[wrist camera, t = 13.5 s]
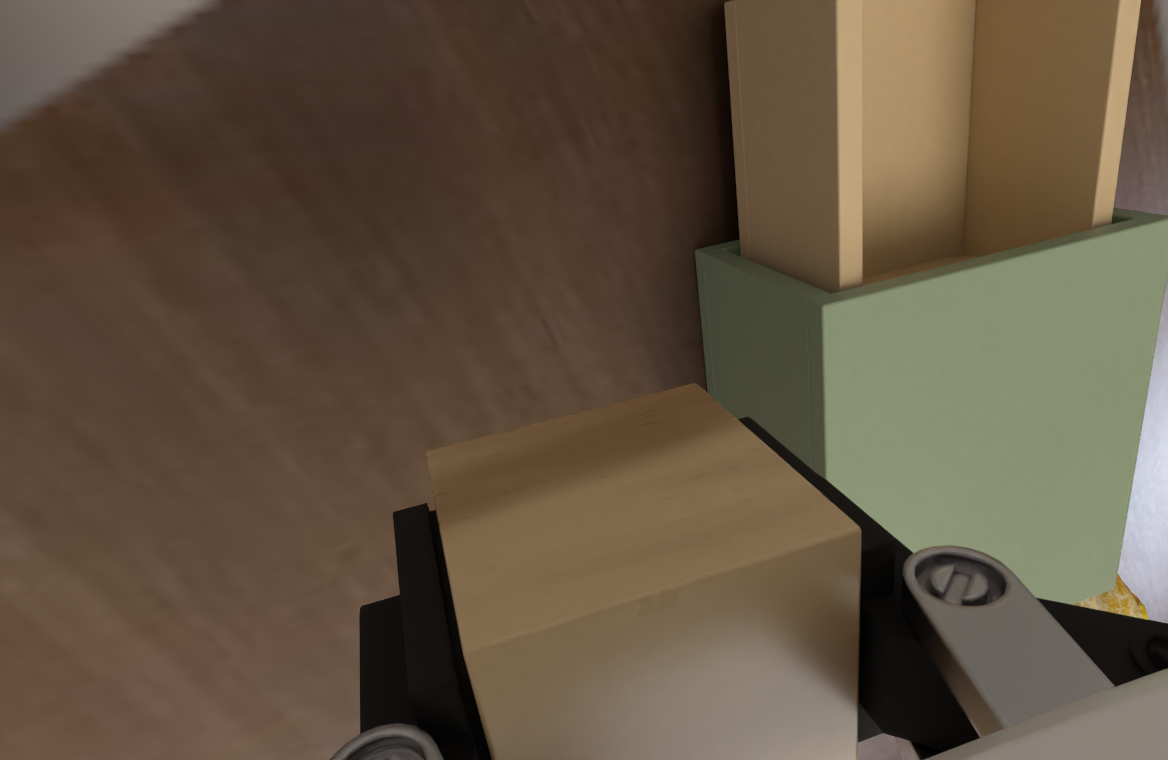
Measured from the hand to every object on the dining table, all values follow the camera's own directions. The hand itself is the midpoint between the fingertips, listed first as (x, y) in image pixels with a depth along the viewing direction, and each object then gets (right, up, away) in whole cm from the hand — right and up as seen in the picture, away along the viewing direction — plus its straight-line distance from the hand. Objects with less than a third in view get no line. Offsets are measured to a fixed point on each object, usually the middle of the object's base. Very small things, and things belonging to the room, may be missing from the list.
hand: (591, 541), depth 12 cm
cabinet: (+11, +3, +20) cm, 23 cm away
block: (0, 0, 0) cm, 0 cm away
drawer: (+9, +15, +14) cm, 22 cm away
